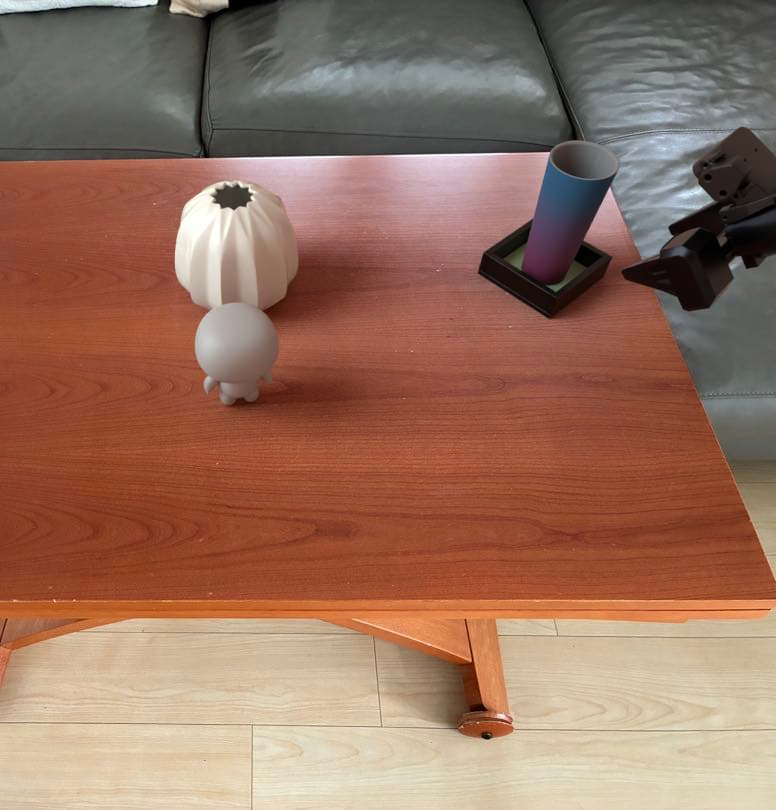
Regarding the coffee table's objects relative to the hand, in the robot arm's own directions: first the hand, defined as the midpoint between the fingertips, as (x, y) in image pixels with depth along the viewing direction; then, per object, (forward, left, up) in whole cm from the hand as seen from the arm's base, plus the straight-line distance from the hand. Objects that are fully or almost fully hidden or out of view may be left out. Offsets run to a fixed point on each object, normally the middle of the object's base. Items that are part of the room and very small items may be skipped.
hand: (647, 251), depth 77 cm
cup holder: (+8, -6, -11) cm, 15 cm away
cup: (+8, -6, -10) cm, 14 cm away
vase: (+42, +5, -11) cm, 44 cm away
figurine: (+37, +21, -11) cm, 44 cm away
